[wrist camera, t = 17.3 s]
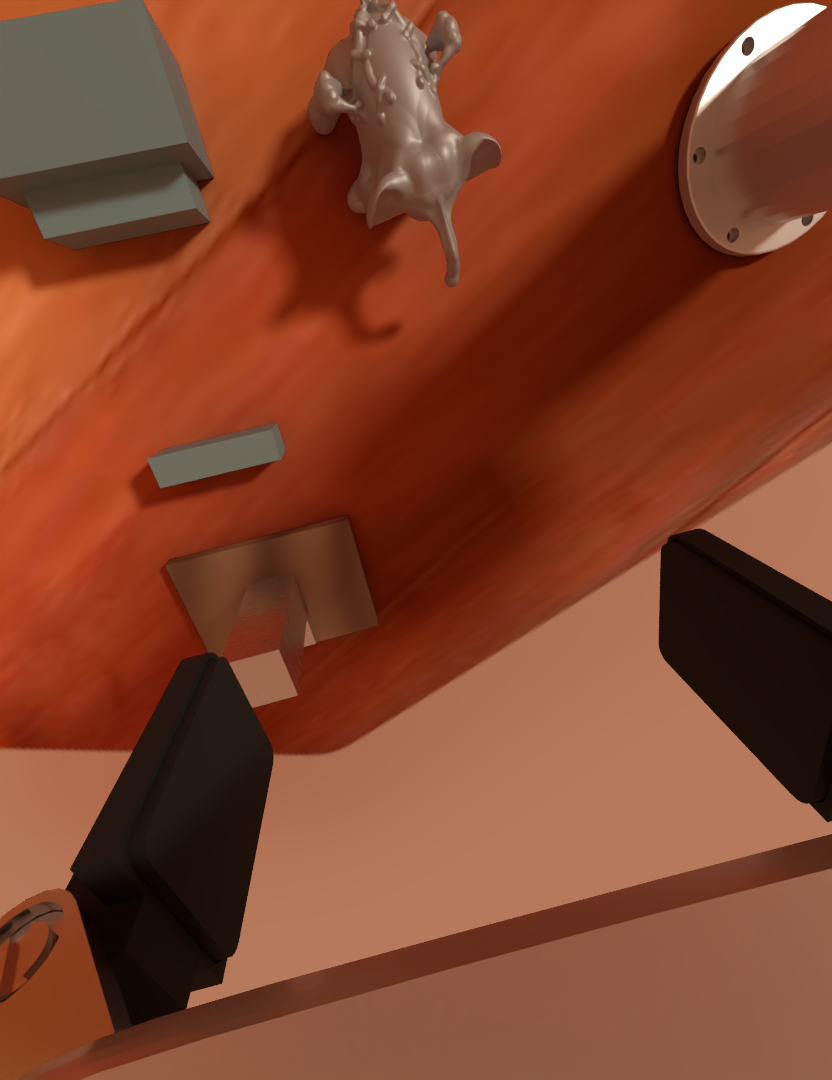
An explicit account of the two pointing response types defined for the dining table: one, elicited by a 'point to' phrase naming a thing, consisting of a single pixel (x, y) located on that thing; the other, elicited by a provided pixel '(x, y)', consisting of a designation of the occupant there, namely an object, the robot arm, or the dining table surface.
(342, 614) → the walnut board
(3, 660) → the dining table surface
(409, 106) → the grey monster figurine
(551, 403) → the dining table surface
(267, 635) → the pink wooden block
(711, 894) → the robot arm
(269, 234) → the dining table surface
